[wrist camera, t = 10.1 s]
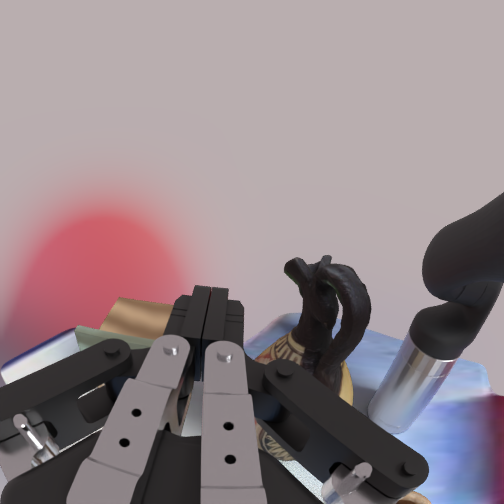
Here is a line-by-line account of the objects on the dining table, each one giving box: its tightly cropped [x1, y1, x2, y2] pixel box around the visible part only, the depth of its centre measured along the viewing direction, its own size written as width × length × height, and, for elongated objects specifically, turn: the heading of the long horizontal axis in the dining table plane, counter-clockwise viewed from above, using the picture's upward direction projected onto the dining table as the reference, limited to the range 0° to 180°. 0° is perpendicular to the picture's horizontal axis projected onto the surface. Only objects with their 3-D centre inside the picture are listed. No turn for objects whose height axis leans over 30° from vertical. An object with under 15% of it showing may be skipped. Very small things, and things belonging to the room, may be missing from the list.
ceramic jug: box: [254, 255, 371, 461], centre depth 31 cm, size 17×15×30 cm
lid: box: [74, 297, 174, 351], centre depth 39 cm, size 15×12×6 cm
